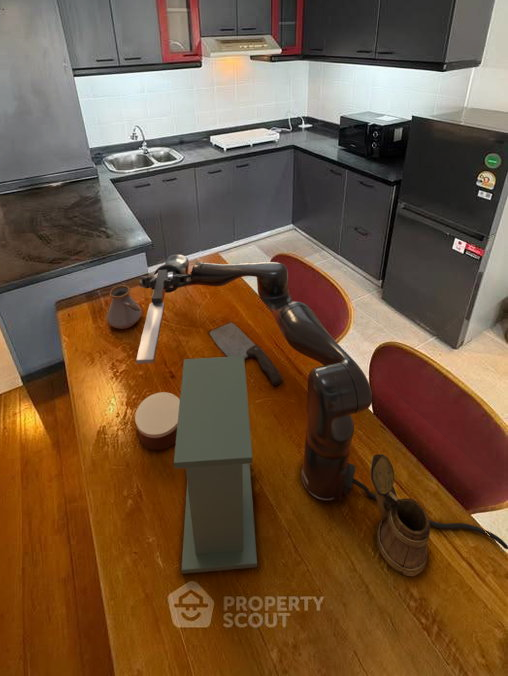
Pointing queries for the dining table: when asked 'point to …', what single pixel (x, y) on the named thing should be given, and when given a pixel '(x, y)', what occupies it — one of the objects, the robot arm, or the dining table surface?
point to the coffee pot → (122, 308)
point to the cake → (158, 420)
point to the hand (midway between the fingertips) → (159, 284)
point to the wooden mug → (399, 523)
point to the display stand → (216, 465)
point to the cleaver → (244, 349)
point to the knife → (153, 322)
